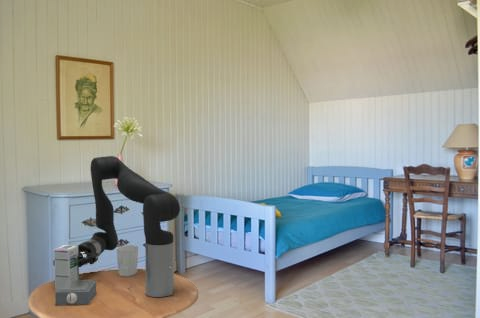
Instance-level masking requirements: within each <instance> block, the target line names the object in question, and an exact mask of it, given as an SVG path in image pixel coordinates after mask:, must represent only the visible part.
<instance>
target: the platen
mask: <svg viewBox="0 0 480 318" xmlns="http://www.w3.org/2000/svg"><path fill="white" fill-rule="evenodd" d="M92 281H93V279H79V280H67V281H66V282H65V283H64V284H63V285H62V287H61V288H60V291H86V290H87V289H88V287H89V286H90V285H91V283H92Z"/></svg>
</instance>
